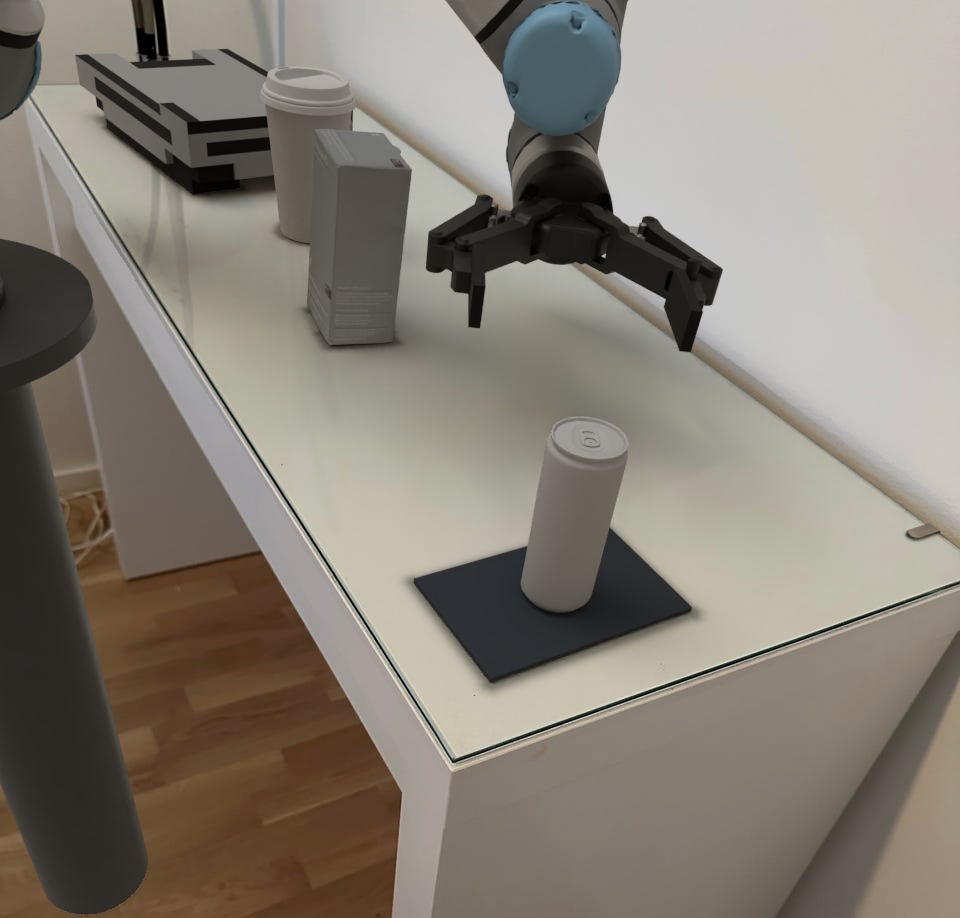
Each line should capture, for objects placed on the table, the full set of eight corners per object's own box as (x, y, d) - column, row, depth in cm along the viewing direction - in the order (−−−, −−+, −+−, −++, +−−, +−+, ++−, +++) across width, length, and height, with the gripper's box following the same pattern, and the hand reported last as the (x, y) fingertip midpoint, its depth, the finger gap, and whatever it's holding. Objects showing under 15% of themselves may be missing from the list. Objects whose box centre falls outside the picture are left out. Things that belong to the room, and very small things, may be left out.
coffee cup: (334, 212, 106) (335, 63, 96) (367, 245, 100) (372, 91, 90) (254, 218, 102) (245, 63, 92) (283, 252, 96) (278, 92, 86)
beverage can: (521, 614, 59) (552, 456, 51) (516, 567, 63) (545, 411, 54) (594, 619, 60) (637, 463, 51) (586, 571, 63) (624, 418, 55)
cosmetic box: (305, 307, 88) (302, 125, 77) (377, 304, 90) (384, 127, 79) (327, 349, 82) (328, 160, 71) (403, 344, 85) (415, 160, 74)
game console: (231, 105, 130) (226, 38, 125) (351, 182, 114) (353, 108, 108) (85, 116, 120) (73, 43, 114) (194, 202, 103) (186, 122, 98)
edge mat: (413, 582, 61) (413, 578, 61) (604, 527, 68) (605, 523, 68) (490, 683, 55) (491, 678, 55) (691, 611, 62) (692, 607, 62)
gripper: (699, 266, 76) (757, 394, 61) (399, 229, 74) (381, 353, 59) (727, 169, 71) (798, 284, 56) (405, 126, 69) (387, 234, 53)
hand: (585, 320), depth 57 cm, fingers open, 13 cm apart
